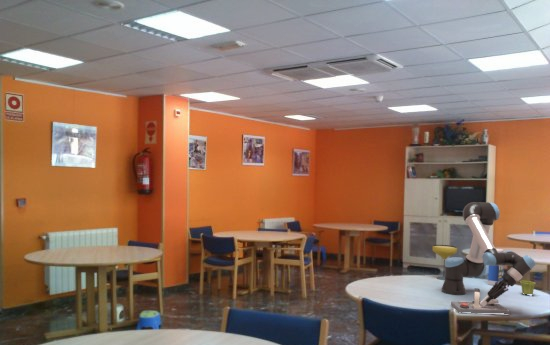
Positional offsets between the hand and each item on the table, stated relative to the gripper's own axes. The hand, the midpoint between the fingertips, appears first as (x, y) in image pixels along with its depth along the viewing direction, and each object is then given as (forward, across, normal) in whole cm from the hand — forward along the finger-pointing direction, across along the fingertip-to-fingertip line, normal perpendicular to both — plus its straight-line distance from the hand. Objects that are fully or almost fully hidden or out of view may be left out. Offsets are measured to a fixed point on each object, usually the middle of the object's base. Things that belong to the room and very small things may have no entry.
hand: (481, 304), depth 275 cm
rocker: (-6, +9, -7) cm, 13 cm away
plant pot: (-31, +50, -38) cm, 70 cm away
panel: (+3, +5, -4) cm, 6 cm away
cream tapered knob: (+3, 0, +1) cm, 3 cm away
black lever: (+1, +9, -2) cm, 9 cm away
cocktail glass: (0, +92, -6) cm, 93 cm away
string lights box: (-24, +81, -31) cm, 90 cm away
